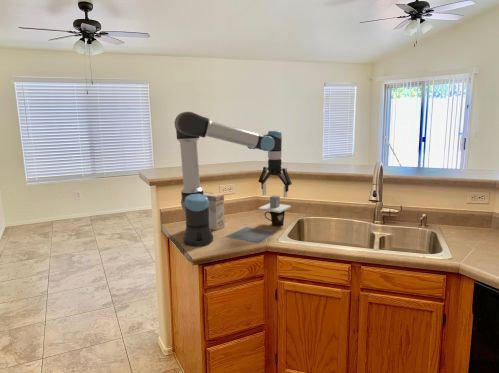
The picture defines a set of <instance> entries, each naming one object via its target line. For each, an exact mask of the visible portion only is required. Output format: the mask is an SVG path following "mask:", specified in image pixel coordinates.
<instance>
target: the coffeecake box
mask: <svg viewBox="0 0 499 373" xmlns="http://www.w3.org/2000/svg"><path fill="white" fill-rule="evenodd" d="M203 195H205V196H207V198H208V201H209V226H210V229H211V230H213V231H219V230H222V229H225V227H226V226H225V224H226V223H225V222H226V221H225V196H224V194H222V193H215V192H209V191H203Z"/></svg>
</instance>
